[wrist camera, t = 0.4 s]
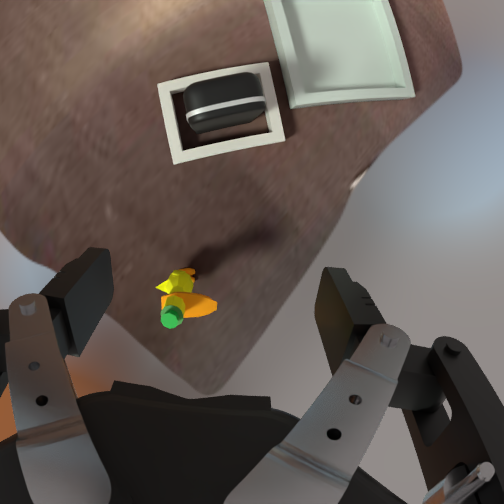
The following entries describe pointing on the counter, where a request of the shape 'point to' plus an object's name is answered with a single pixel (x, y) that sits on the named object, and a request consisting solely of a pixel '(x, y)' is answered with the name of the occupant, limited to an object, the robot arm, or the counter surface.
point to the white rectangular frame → (231, 145)
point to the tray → (339, 51)
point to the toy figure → (182, 299)
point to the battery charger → (223, 101)
